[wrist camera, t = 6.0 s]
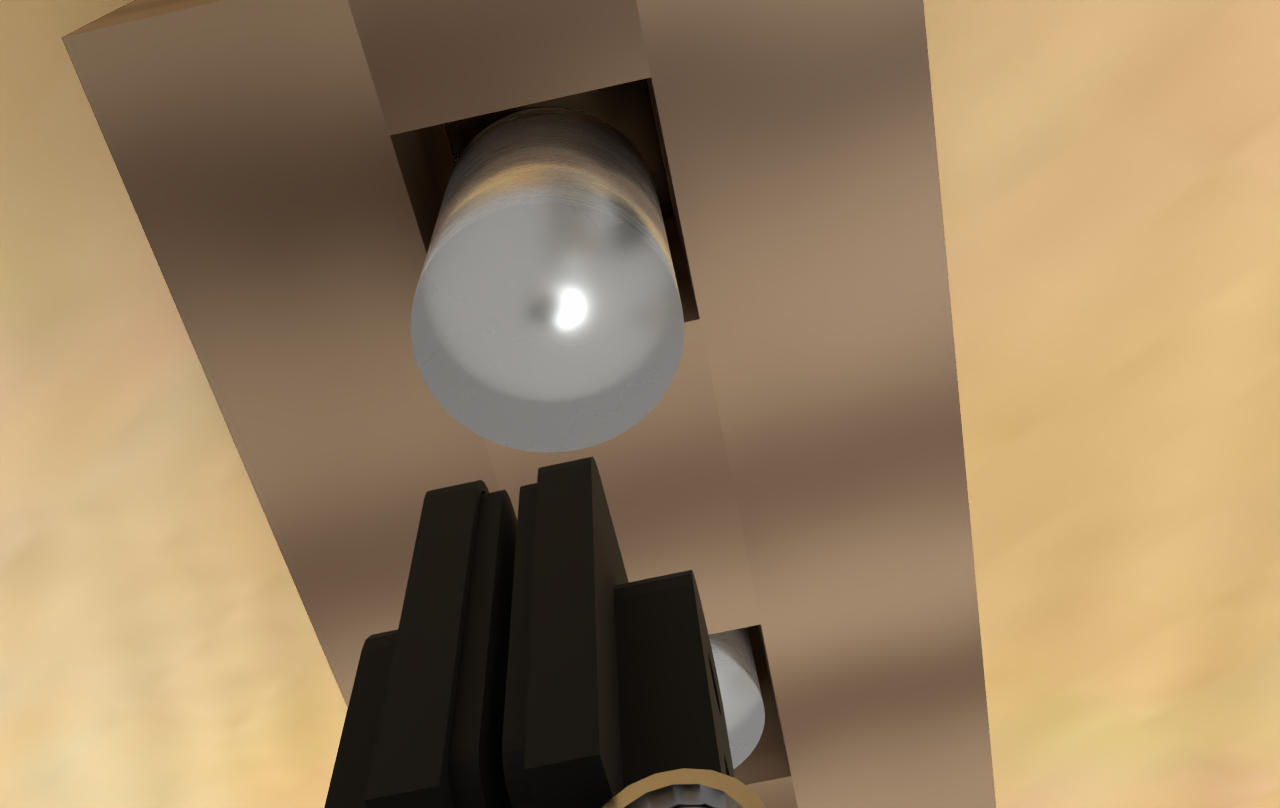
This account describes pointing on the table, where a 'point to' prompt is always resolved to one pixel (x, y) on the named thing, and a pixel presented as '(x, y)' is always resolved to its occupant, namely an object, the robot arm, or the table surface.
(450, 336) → the peg
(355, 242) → the walnut block
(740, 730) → the peg
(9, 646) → the table surface
